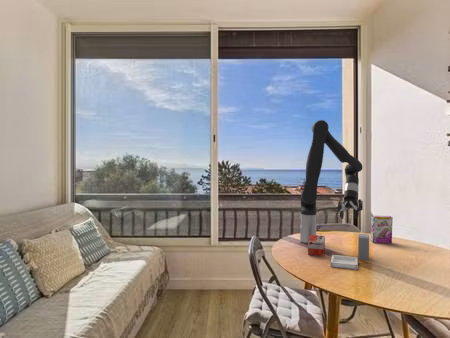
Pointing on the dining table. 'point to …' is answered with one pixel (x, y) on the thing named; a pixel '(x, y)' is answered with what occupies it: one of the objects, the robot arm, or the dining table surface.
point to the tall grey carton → (363, 246)
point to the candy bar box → (381, 229)
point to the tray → (344, 262)
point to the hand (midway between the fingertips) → (348, 217)
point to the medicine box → (316, 245)
